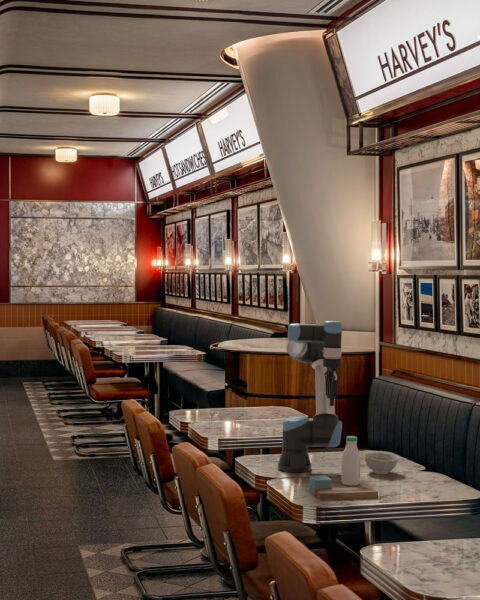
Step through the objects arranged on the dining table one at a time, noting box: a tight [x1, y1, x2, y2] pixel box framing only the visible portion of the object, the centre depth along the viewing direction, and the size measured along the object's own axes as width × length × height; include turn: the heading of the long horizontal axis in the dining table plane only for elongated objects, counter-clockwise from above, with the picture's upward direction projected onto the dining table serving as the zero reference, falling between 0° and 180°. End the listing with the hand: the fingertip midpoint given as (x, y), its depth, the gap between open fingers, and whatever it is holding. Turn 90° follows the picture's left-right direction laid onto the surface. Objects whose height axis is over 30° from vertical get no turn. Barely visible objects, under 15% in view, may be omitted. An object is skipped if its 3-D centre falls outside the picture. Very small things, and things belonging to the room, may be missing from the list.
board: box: [313, 486, 379, 501], centre depth 351 cm, size 8×24×2 cm, turn 102°
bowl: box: [363, 452, 400, 475], centre depth 395 cm, size 16×16×8 cm
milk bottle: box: [340, 435, 361, 487], centre depth 372 cm, size 8×8×20 cm
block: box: [308, 475, 332, 495], centre depth 356 cm, size 7×7×6 cm
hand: (330, 413), depth 373 cm, fingers closed
